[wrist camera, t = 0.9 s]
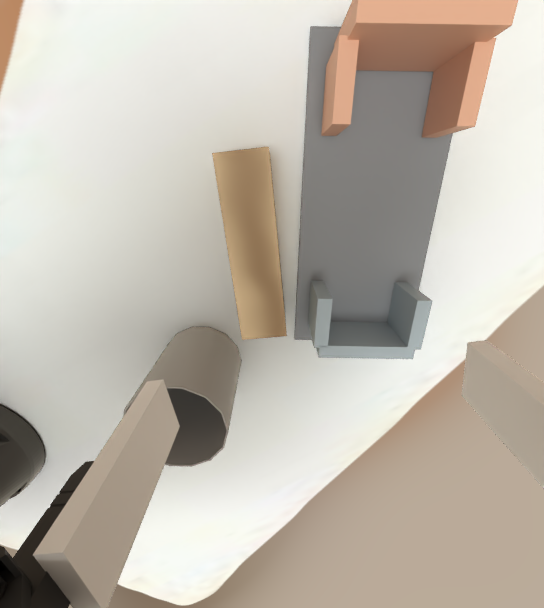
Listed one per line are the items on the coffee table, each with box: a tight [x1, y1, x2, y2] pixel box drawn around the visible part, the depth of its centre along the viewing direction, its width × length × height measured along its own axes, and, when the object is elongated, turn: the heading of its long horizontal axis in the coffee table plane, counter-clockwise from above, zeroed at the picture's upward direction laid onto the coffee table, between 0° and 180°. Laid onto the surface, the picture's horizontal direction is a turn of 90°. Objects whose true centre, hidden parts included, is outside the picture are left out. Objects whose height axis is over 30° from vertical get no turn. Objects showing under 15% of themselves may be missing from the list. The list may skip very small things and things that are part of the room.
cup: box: [124, 327, 241, 466], centre depth 28 cm, size 8×8×10 cm
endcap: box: [321, 0, 518, 138], centre depth 20 cm, size 9×6×7 cm, turn 89°
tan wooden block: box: [212, 147, 287, 340], centre depth 26 cm, size 4×15×5 cm, turn 6°
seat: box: [295, 26, 453, 359], centre depth 24 cm, size 12×26×5 cm, turn 179°
